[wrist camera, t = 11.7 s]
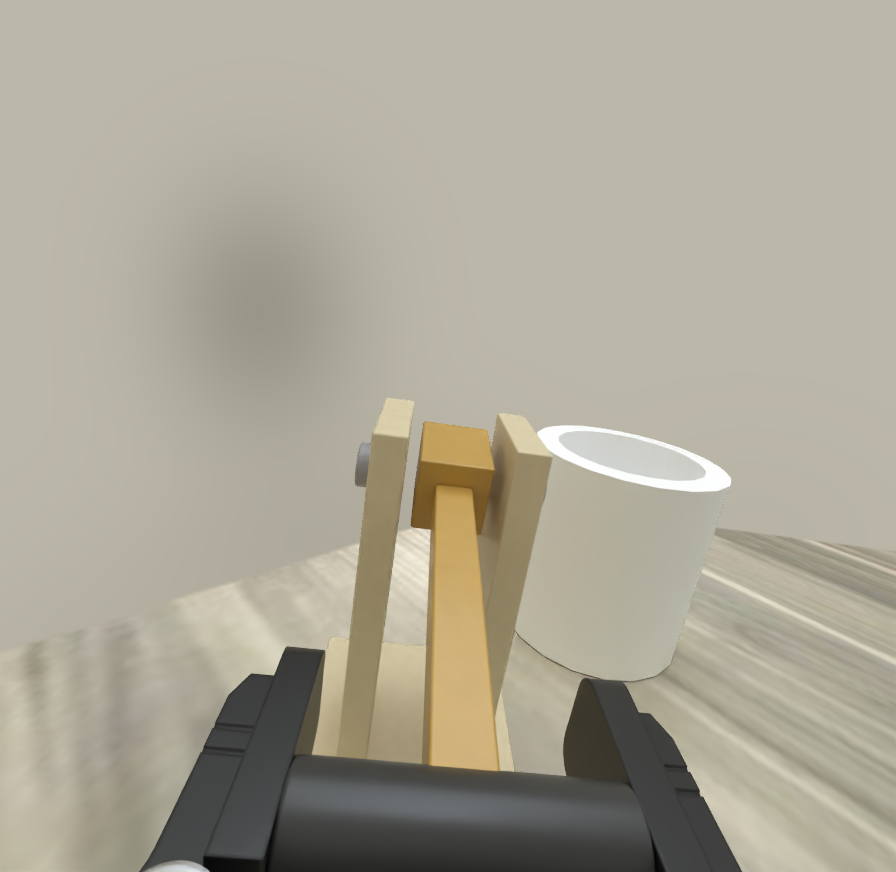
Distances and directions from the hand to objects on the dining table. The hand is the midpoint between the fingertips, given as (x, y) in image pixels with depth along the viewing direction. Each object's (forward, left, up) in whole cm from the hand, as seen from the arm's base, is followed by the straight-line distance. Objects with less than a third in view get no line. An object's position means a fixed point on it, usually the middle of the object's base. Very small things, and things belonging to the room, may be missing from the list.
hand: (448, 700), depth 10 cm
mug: (-18, -7, -10) cm, 22 cm away
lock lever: (-2, -2, 0) cm, 3 cm away
